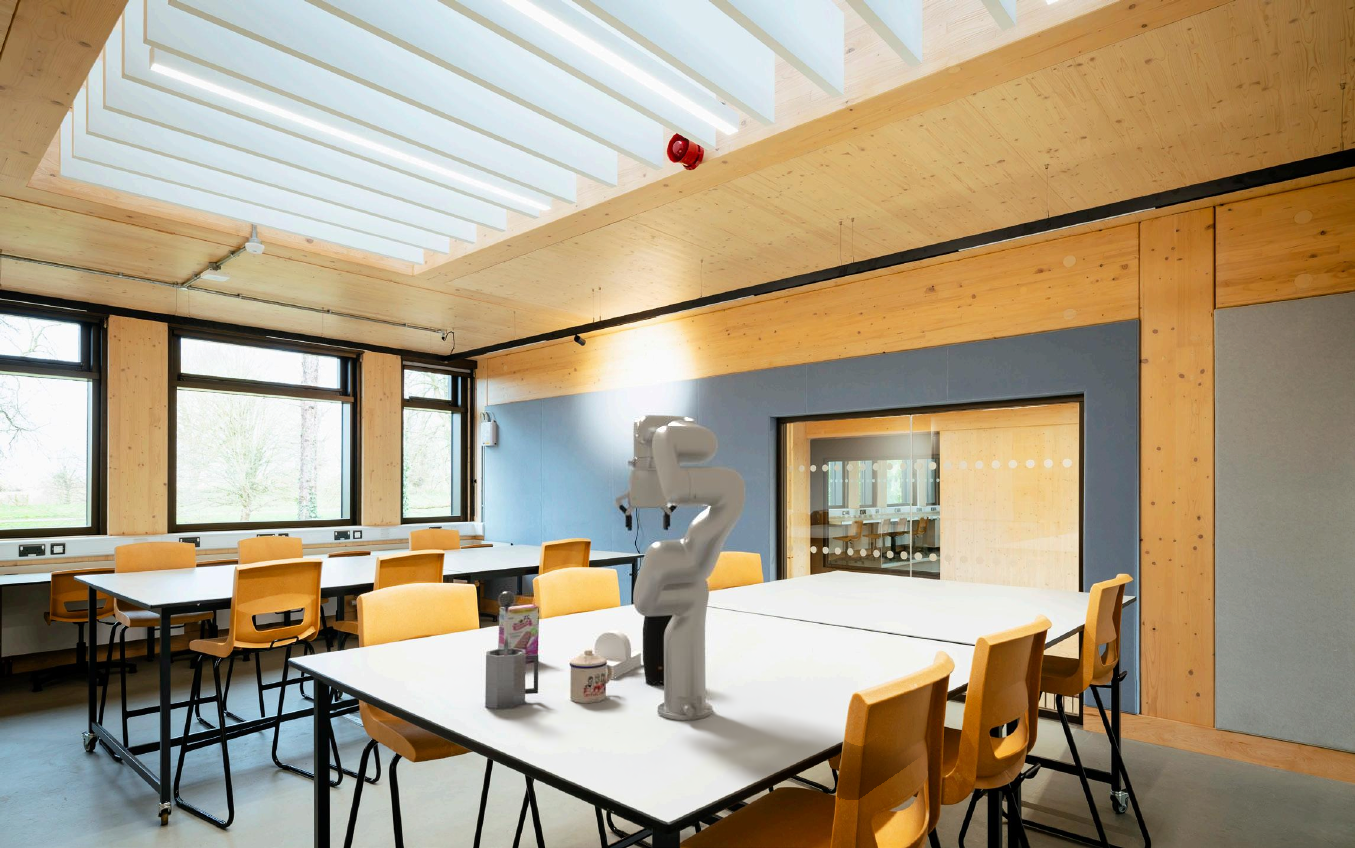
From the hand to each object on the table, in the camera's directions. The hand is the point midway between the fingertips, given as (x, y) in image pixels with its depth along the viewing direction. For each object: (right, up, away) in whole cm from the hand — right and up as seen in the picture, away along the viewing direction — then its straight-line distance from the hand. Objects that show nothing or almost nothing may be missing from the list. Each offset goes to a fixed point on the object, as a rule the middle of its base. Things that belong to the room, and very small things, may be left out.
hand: (647, 530), depth 196 cm
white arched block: (-11, -42, +15) cm, 46 cm away
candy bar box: (-39, -43, +25) cm, 64 cm away
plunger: (-34, -29, -17) cm, 47 cm away
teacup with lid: (-13, -40, -13) cm, 44 cm away
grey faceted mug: (-32, -39, -17) cm, 53 cm away
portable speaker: (+3, -41, +1) cm, 41 cm away
